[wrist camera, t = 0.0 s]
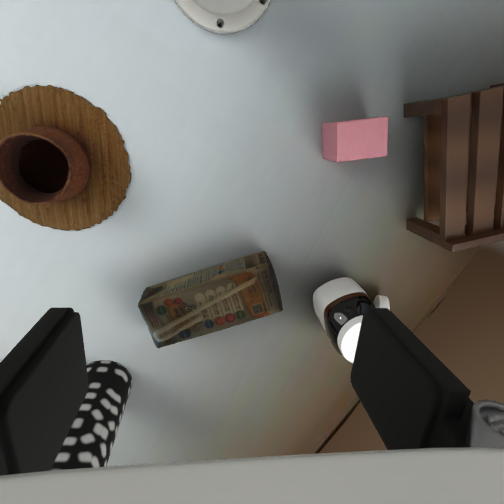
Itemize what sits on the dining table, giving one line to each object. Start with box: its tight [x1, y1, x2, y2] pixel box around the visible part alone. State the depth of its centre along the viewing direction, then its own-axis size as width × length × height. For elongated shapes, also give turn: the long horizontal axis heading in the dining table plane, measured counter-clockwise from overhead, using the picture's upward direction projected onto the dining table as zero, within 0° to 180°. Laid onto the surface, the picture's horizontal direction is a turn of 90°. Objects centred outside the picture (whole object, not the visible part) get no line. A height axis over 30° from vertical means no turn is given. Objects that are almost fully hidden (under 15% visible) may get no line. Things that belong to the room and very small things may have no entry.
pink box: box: [322, 117, 388, 162], centre depth 43 cm, size 5×6×6 cm
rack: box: [404, 83, 504, 252], centre depth 43 cm, size 18×14×10 cm
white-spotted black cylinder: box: [50, 361, 132, 471], centre depth 45 cm, size 8×8×20 cm
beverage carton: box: [138, 251, 283, 348], centre depth 47 cm, size 8×19×7 cm, turn 106°
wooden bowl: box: [0, 85, 131, 231], centre depth 39 cm, size 18×18×7 cm
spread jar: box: [313, 277, 390, 363], centre depth 49 cm, size 12×11×12 cm
